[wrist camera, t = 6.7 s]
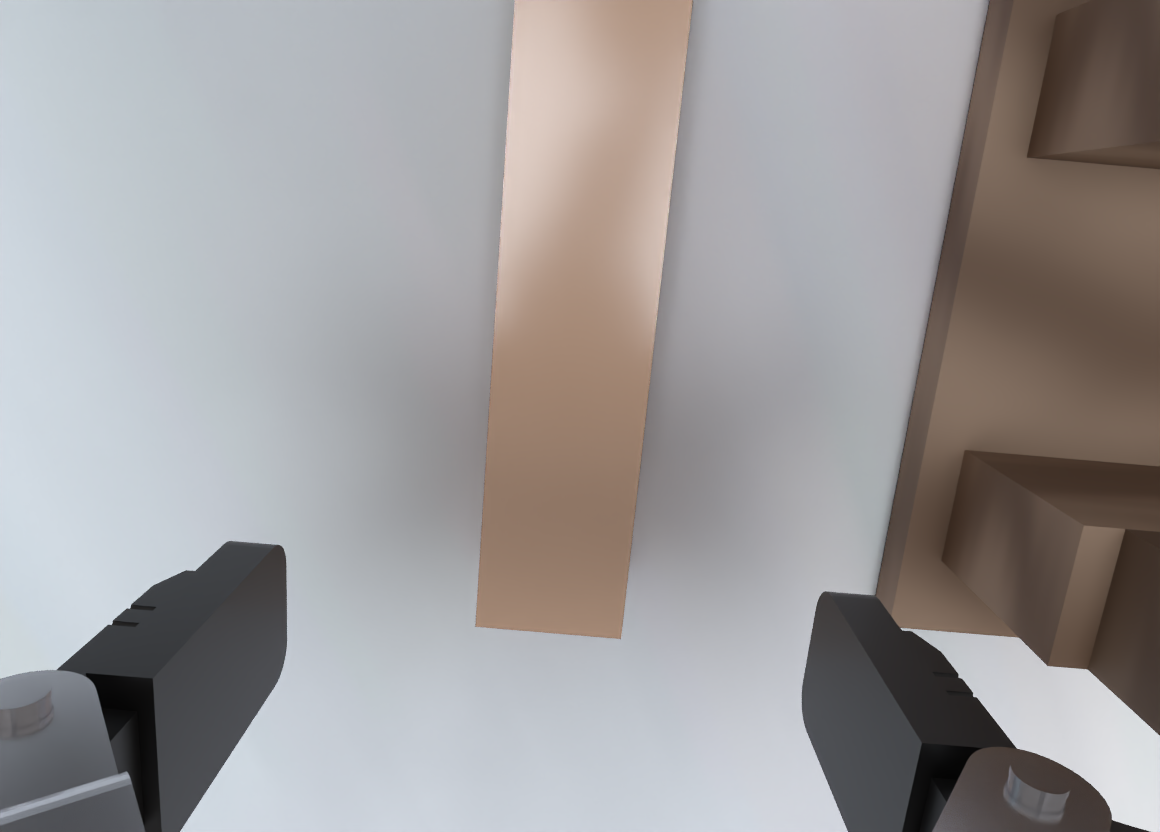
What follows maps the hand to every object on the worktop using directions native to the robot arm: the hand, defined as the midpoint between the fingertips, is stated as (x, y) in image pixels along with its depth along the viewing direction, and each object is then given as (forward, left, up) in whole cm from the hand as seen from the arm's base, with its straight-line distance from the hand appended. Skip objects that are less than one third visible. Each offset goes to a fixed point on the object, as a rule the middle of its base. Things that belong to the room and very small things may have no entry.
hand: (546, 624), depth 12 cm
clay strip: (-4, 0, -10) cm, 11 cm away
